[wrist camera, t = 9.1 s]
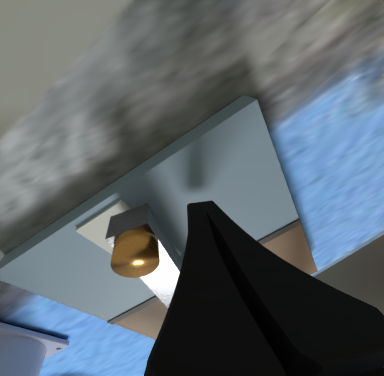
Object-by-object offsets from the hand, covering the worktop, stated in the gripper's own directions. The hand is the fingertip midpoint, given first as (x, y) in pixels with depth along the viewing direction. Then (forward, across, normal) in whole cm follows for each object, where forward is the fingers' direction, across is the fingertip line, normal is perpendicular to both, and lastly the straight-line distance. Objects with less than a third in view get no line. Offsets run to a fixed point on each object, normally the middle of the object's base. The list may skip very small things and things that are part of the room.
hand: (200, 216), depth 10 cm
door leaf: (+3, +2, +3) cm, 5 cm away
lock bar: (+1, +2, +4) cm, 5 cm away
